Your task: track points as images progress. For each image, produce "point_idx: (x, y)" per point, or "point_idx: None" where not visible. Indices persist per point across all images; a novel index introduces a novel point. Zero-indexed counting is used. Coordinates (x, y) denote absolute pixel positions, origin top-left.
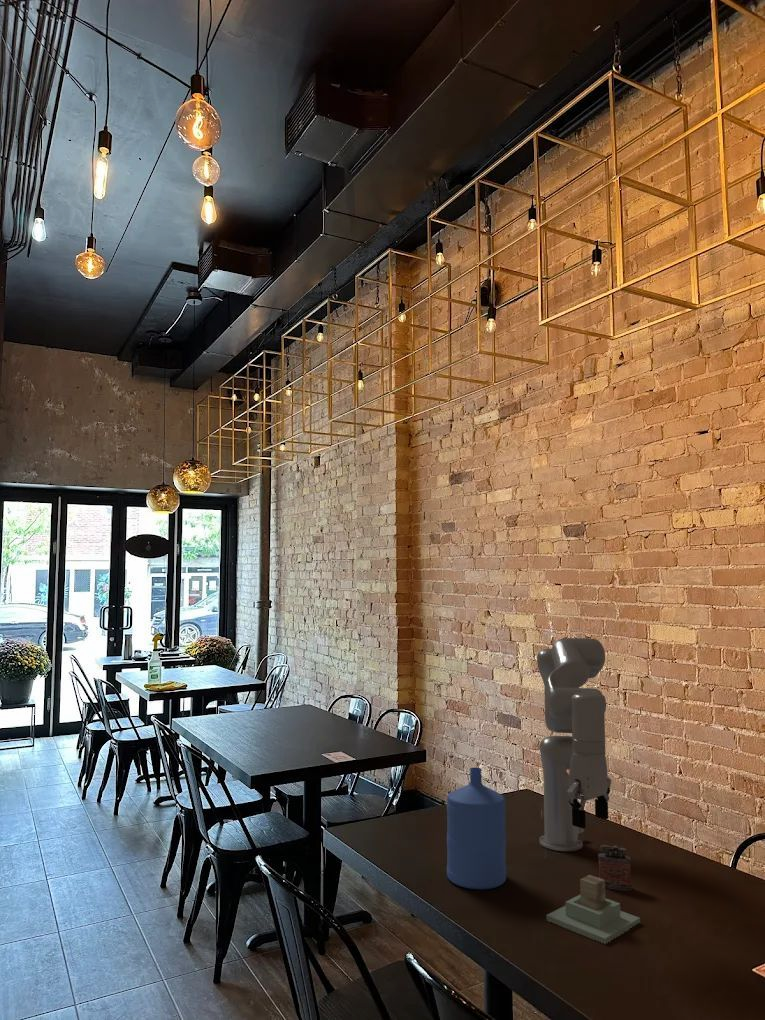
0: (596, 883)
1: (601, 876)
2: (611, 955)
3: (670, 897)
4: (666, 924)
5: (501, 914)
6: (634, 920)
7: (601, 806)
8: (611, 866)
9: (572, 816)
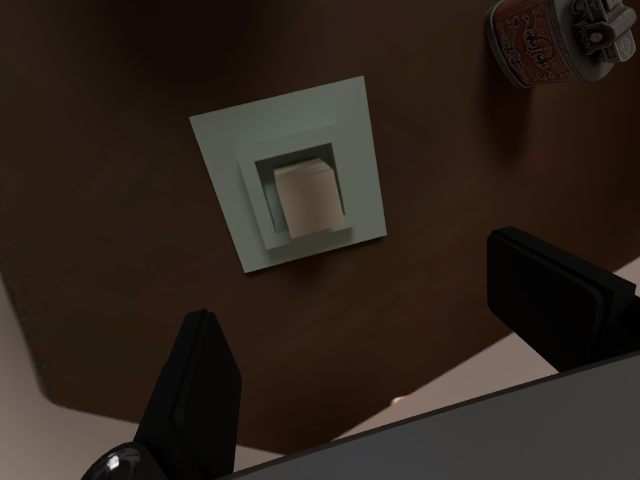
0: (299, 234)
1: (505, 14)
2: (226, 301)
3: (548, 168)
4: (423, 255)
5: (76, 7)
6: (366, 239)
7: (550, 328)
8: (542, 39)
9: (171, 358)
